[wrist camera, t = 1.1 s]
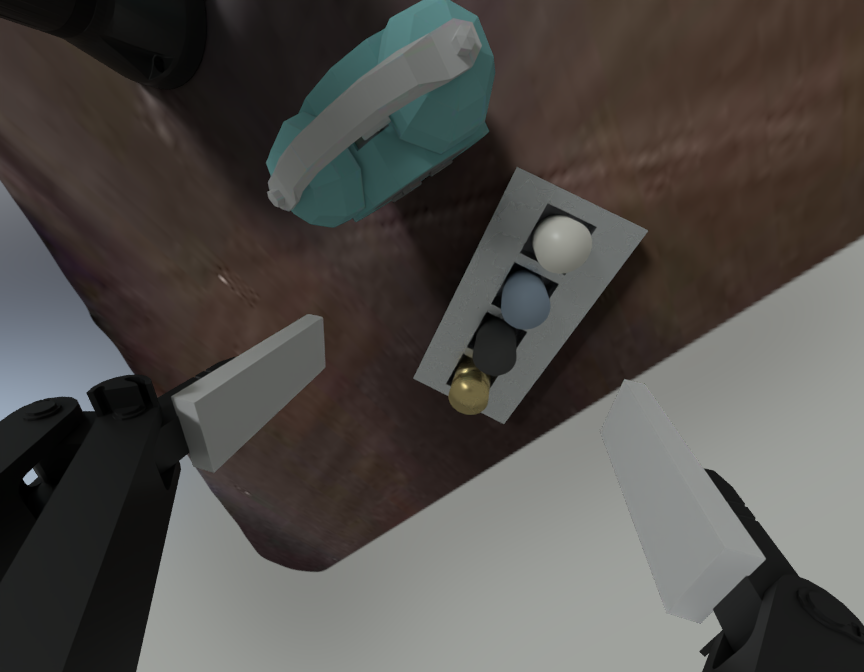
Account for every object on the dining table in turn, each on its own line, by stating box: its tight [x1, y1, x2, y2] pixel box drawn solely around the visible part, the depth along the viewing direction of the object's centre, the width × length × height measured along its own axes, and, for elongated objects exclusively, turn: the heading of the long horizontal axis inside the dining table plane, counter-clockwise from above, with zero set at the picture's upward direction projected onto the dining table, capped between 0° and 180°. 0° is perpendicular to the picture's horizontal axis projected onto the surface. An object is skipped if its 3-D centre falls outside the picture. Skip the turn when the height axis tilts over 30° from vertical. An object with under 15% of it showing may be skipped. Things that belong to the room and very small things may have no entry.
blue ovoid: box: [501, 270, 551, 330], centre depth 32 cm, size 4×4×6 cm
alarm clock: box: [266, 0, 495, 228], centre depth 24 cm, size 17×10×20 cm, turn 120°
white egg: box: [532, 215, 592, 274], centre depth 29 cm, size 4×4×6 cm
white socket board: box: [413, 167, 648, 424], centre depth 36 cm, size 13×26×4 cm, turn 157°
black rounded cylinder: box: [472, 316, 517, 376], centre depth 34 cm, size 4×4×6 cm
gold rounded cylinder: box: [449, 356, 491, 415], centre depth 37 cm, size 4×4×6 cm
